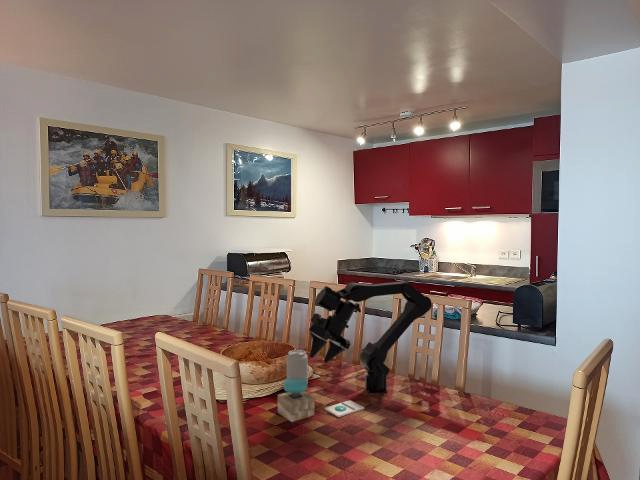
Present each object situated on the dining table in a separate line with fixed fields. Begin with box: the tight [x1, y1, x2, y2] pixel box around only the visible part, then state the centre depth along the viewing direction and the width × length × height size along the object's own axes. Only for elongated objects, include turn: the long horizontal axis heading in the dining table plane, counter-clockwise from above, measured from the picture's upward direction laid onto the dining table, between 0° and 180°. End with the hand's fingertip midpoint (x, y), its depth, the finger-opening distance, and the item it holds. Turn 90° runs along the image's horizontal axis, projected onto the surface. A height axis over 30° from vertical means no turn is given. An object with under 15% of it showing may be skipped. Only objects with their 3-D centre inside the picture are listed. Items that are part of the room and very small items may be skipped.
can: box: [286, 349, 309, 385], centre depth 162 cm, size 8×8×12 cm
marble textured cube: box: [277, 391, 315, 423], centre depth 138 cm, size 8×8×6 cm
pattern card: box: [324, 399, 365, 418], centre depth 141 cm, size 10×7×1 cm
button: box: [283, 378, 308, 399], centre depth 138 cm, size 7×7×5 cm
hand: (318, 359), depth 150 cm, fingers open, 9 cm apart
